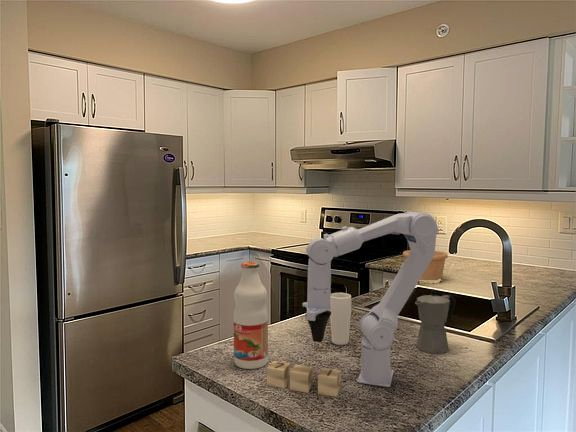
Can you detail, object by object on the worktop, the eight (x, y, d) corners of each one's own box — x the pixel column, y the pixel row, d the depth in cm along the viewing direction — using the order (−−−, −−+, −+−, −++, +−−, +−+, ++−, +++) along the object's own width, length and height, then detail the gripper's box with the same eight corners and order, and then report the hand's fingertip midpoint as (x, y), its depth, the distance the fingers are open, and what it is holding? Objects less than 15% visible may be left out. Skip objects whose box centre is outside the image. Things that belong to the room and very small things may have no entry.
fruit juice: (275, 363, 120) (274, 262, 118) (248, 373, 114) (247, 267, 112) (253, 353, 127) (252, 258, 125) (227, 362, 121) (225, 262, 119)
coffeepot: (426, 357, 123) (427, 295, 122) (404, 346, 132) (405, 288, 131) (466, 349, 130) (467, 289, 129) (442, 338, 138) (444, 283, 137)
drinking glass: (324, 342, 135) (324, 295, 134) (337, 337, 140) (337, 291, 139) (342, 348, 131) (342, 299, 130) (355, 342, 136) (355, 295, 134)
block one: (322, 385, 107) (322, 367, 106) (340, 388, 105) (340, 370, 105) (317, 394, 102) (317, 375, 102) (336, 397, 101) (336, 377, 101)
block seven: (273, 378, 111) (273, 360, 111) (290, 380, 109) (290, 363, 109) (266, 385, 107) (266, 367, 106) (284, 388, 105) (283, 370, 105)
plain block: (295, 382, 109) (295, 364, 108) (313, 384, 107) (313, 367, 107) (289, 390, 104) (289, 371, 104) (307, 393, 103) (307, 374, 103)
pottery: (445, 277, 230) (445, 250, 229) (448, 286, 209) (449, 257, 208) (403, 275, 236) (403, 249, 235) (401, 284, 215) (402, 255, 214)
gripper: (311, 279, 115) (310, 329, 116) (294, 292, 101) (293, 348, 102) (337, 282, 113) (336, 333, 114) (323, 295, 99) (322, 353, 100)
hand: (317, 340), depth 108 cm, fingers closed
